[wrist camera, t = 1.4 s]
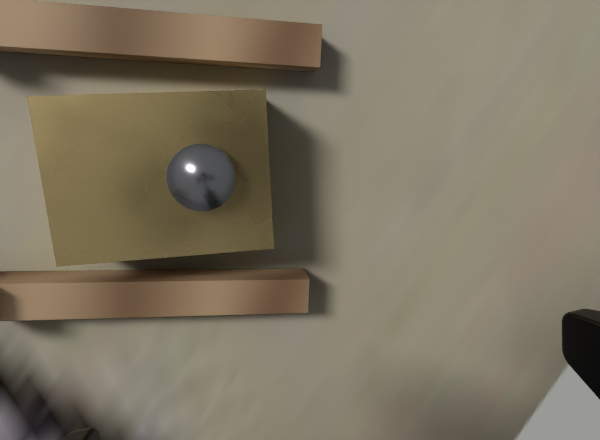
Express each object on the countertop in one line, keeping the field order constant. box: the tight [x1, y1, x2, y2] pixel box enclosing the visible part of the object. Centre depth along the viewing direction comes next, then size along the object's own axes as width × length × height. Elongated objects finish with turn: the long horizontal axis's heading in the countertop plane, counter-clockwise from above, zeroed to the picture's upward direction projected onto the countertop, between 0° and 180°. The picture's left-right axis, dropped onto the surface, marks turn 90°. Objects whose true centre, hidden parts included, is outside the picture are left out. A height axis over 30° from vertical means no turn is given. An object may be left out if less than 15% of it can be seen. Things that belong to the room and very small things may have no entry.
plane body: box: [0, 0, 322, 321], centre depth 17 cm, size 14×12×2 cm
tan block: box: [27, 90, 274, 266], centre depth 17 cm, size 8×6×4 cm
